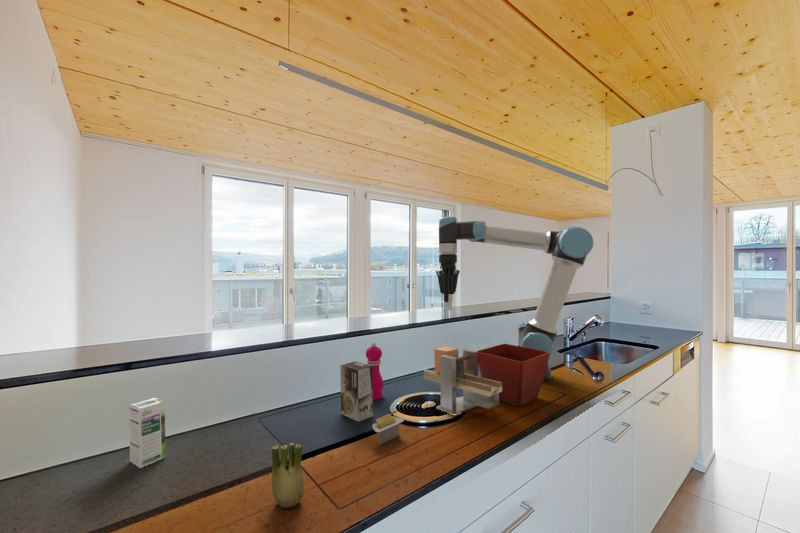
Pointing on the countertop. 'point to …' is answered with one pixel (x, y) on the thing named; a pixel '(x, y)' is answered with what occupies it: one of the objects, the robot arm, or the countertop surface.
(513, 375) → the plant pot
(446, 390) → the pivot stand
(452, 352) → the rider
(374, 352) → the pepper mill
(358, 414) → the coffee box
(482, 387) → the beam
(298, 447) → the fennel bulb
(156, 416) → the syrup box
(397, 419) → the platform
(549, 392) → the countertop surface
